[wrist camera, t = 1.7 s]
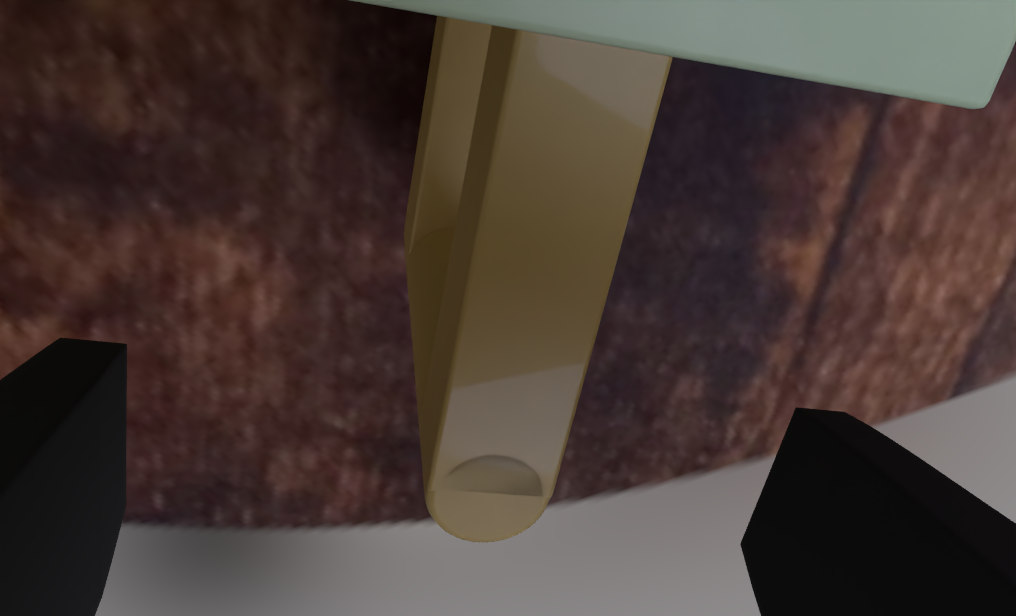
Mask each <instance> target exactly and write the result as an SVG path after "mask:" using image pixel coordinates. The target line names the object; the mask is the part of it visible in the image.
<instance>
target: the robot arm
mask: <svg viewBox="0 0 1016 616" xmlns="http://www.w3.org/2000/svg"><path fill="white" fill-rule="evenodd" d="M126 388H127V344H122V343H111V342H101V341H90V340H79V339H69V338H59V339H58V340H56V341H55V342H53V343H52V344H50V345H49V346H47V347H46V348H45V349H43V350H42V351H40V352H39V353H38V354H36V355H35V356H33V357H32V358H30V359H29V360H28V361H26V362H25V363H23V364H22V365H21V366H19V367H18V368H16V369H15V370H14V371H12V372H11V373H9V374H8V375H7V376H5V377H4V378H2V379H1V380H0V616H95V614H96V611H97V608H98V606H99V603H100V601H101V598H102V595H103V591H104V588H105V584H106V580H107V576H108V573H109V569H110V566H111V562H112V558H113V554H114V551H115V547H116V543H117V539H118V535H119V531H120V527H121V523H122V519H123V515H124V512H125V508H126ZM741 548H742V551H743V555H744V559H745V562H746V566H747V570H748V573H749V577H750V580H751V584H752V588H753V591H754V594H755V598H756V601H757V604H758V607H759V610H760V613H761V616H1016V523H1014V522H1013V521H1011V520H1010V519H1008V518H1007V517H1005V516H1004V515H1002V514H1001V513H999V512H998V511H996V510H995V509H993V508H992V507H990V506H988V504H986V503H985V502H983V501H982V500H980V499H979V498H977V497H976V496H974V495H973V494H971V493H970V492H969V491H967V490H966V489H964V488H963V487H961V486H960V485H958V484H957V483H955V482H954V481H952V480H951V479H950V478H948V477H947V476H945V475H944V474H942V473H941V472H939V471H938V470H936V469H935V468H933V467H932V466H931V465H929V464H927V463H926V462H925V461H923V460H922V459H920V458H919V457H917V456H916V455H914V454H913V453H911V452H910V451H908V450H907V449H905V448H904V447H902V446H901V445H899V444H898V443H896V442H894V441H893V440H891V439H890V438H888V437H887V436H885V435H884V434H882V433H880V432H879V431H877V430H876V429H874V428H872V427H871V426H869V425H867V424H865V423H864V422H862V421H860V420H858V419H856V418H855V417H853V416H851V415H849V414H847V413H845V412H838V411H828V410H817V409H807V408H796V409H795V411H794V413H793V416H792V418H791V421H790V423H789V426H788V428H787V431H786V433H785V436H784V438H783V440H782V443H781V445H780V448H779V450H778V453H777V455H776V458H775V460H774V463H773V465H772V468H771V470H770V472H769V475H768V478H767V480H766V482H765V485H764V487H763V490H762V492H761V495H760V497H759V500H758V502H757V504H756V507H755V510H754V512H753V514H752V517H751V519H750V522H749V524H748V527H747V529H746V532H745V534H744V536H743V539H742V541H741Z"/></svg>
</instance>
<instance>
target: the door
mask: <svg viewBox="0 0 1016 616" xmlns="http://www.w3.org/2000/svg"><path fill="white" fill-rule="evenodd" d="M350 1H356V2H362V3H368V4H373V5H379V6H385V7H390V8H396V9H402V10H408V11H413V12H419V13H425V14H430V15H436V16H437V20H436V27H435V33H434V39H433V46H432V52H431V59H430V65H429V72H428V78H427V84H426V91H425V97H424V104H423V110H422V117H421V123H420V129H419V136H418V142H417V149H416V155H415V162H414V168H413V175H412V181H411V187H410V194H409V200H408V207H407V213H406V220H405V229H404V246H405V258H406V271H407V283H408V295H409V308H410V320H411V332H412V345H413V357H414V370H415V382H416V394H417V407H418V419H419V431H420V444H421V456H422V469H423V481H424V493H425V502H426V506H427V509H428V511H429V513H430V515H431V516H432V518H433V519H434V520H435V521H436V522H437V524H438V525H439V526H440V527H441V528H442V529H444V530H445V531H446V532H448V533H449V534H451V535H453V536H455V537H457V538H460V539H463V540H468V541H473V542H494V541H499V540H504V539H507V538H510V537H512V536H515V535H517V534H519V533H521V532H523V531H524V530H526V529H527V528H529V527H530V526H531V525H533V524H534V523H535V522H536V521H537V520H538V519H539V517H540V516H541V515H542V513H543V512H544V510H545V508H546V507H547V504H548V501H549V499H550V498H551V497H552V494H553V491H554V487H555V484H556V480H557V476H558V473H559V469H560V466H561V462H562V458H563V455H564V451H565V447H566V444H567V440H568V436H569V433H570V429H571V426H572V422H573V418H574V415H575V411H576V407H577V404H578V400H579V396H580V393H581V389H582V386H583V382H584V378H585V375H586V371H587V367H588V364H589V360H590V356H591V353H592V349H593V345H594V342H595V338H596V335H597V331H598V327H599V324H600V320H601V316H602V313H603V309H604V305H605V302H606V298H607V295H608V291H609V287H610V284H611V280H612V276H613V273H614V269H615V265H616V262H617V258H618V255H619V251H620V247H621V244H622V240H623V236H624V233H625V229H626V225H627V222H628V218H629V215H630V211H631V207H632V204H633V200H634V196H635V193H636V189H637V185H638V182H639V178H640V175H641V171H642V167H643V164H644V160H645V156H646V153H647V149H648V145H649V142H650V138H651V134H652V131H653V127H654V124H655V120H656V116H657V113H658V109H659V105H660V102H661V98H662V94H663V91H664V87H665V84H666V80H667V76H668V73H669V69H670V65H671V62H672V58H673V57H677V58H682V59H688V60H694V61H699V62H705V63H711V64H717V65H722V66H728V67H734V68H740V69H745V70H751V71H757V72H762V73H768V74H774V75H780V76H785V77H791V78H797V79H802V80H808V81H814V82H820V83H825V84H831V85H837V86H843V87H848V88H854V89H860V90H865V91H871V92H877V93H883V94H888V95H894V96H900V97H905V98H911V99H917V100H923V101H928V102H934V103H940V104H946V105H951V106H957V107H963V108H968V109H978V108H984V107H985V106H986V105H987V103H988V102H989V100H990V98H991V96H992V94H993V91H994V89H995V87H996V84H997V82H998V80H999V78H1000V75H1001V73H1002V71H1003V69H1004V66H1005V64H1006V62H1007V60H1008V57H1009V55H1010V53H1011V50H1012V48H1013V46H1014V44H1015V41H1016V0H350Z"/></svg>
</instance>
